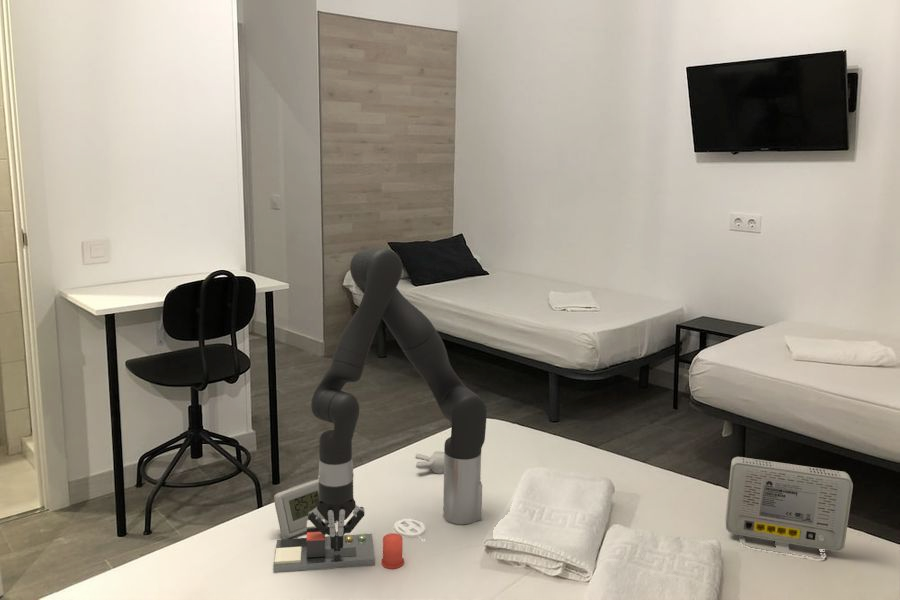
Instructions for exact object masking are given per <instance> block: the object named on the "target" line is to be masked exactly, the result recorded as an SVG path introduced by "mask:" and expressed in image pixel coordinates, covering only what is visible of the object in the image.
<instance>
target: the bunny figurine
mask: <svg viewBox="0 0 900 600" xmlns="http://www.w3.org/2000/svg"><path fill="white" fill-rule="evenodd" d="M415 459H416V460H420V461H416V465H415V467H416V468H417V469H421V470H422V469H426V468H430V469H431V471H432V472H433V473H435V474H440V475H442V474H443V475H444V451H440V450H439V451H434V452H433V453H432V454H431V455H430V456H427V455H425V454H422V453H416V454H415Z"/></svg>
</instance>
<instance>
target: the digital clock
mask: <svg viewBox="0 0 900 600" xmlns="http://www.w3.org/2000/svg"><path fill="white" fill-rule="evenodd" d="M273 501H274V505H275V506H274V507H275V512H276V514H277V516H276V517H277V521H278V524H279V525H278V526H279V531H280V535H281V537H282V539H292V538H294V537H298V536H301V535H303V534H307V520H309V519H308V512H309V510H313V509H315V508H316V507H317V503H318V501H319V479H318V478H317V479H316V478H315V479H311V480H309V481H306V482H304V483H303V482H302V483H301V484H298V485H295V486H292V487H289V488H287V489H285V490H282V491H279V492H277V493H276V494H274V496H273ZM319 517H320V518H321V520H322V519H325V518H324V517H323V516H322V515H321V514H320V512H319ZM325 524H326V525H328V524H329V521H327V520H326V519H325Z"/></svg>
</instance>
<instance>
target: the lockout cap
mask: <svg viewBox="0 0 900 600" xmlns="http://www.w3.org/2000/svg"><path fill="white" fill-rule="evenodd" d="M403 541H404V540H403V536H401V535H399V534H397V533H396V532H395V533H394V532H392V533H387V534H385V535H384V536H383V537H382V558H381V565H382V567H383V568H385V569H388V570H396V569H400V568H401V567H403V566H404V563H405V561H404V560H405V559H404V557H403V545H404V544H403V543H404V542H403Z"/></svg>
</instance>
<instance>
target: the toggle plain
mask: <svg viewBox="0 0 900 600" xmlns="http://www.w3.org/2000/svg"><path fill="white" fill-rule="evenodd" d="M322 521H323V522H324V523H325V519H322ZM308 532H320V531H319V530H318V529H317V528H316V527H315V525H314V524H313V523H312V522H311V521H310V520H307V532H306V534H307V533H308Z"/></svg>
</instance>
